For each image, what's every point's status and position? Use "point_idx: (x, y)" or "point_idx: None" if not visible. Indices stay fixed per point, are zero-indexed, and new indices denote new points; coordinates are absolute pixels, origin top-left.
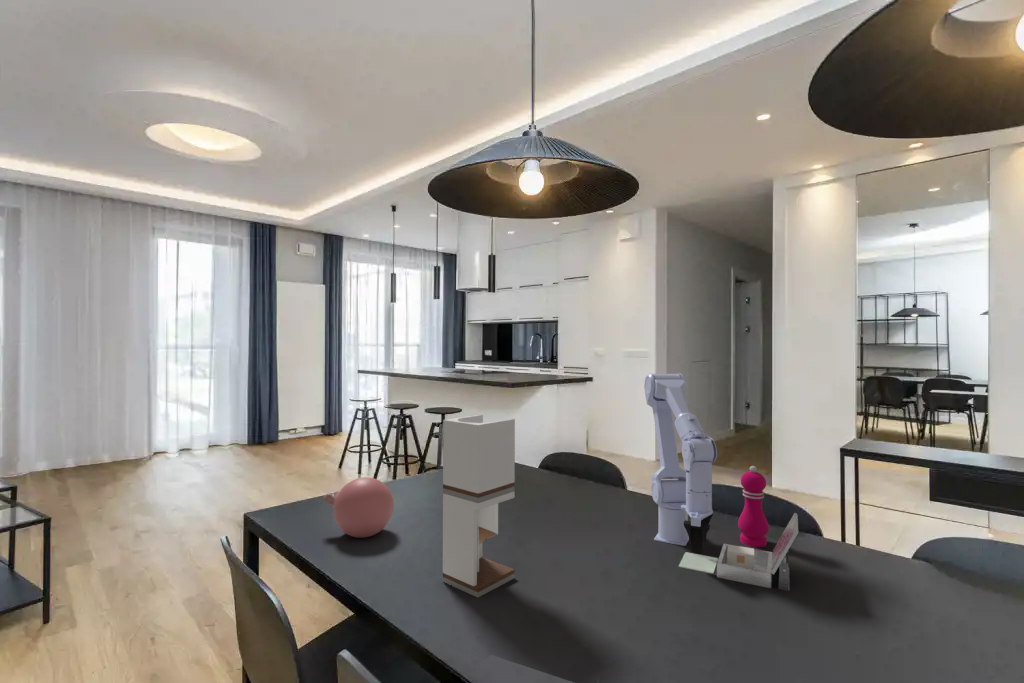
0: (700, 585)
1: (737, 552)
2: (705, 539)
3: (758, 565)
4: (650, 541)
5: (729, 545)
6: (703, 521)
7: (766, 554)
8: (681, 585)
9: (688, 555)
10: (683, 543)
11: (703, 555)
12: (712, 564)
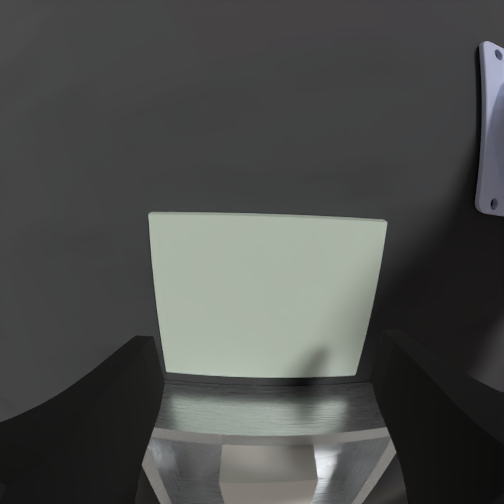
0: (47, 322)
1: (226, 501)
2: (376, 398)
3: (329, 465)
4: (461, 22)
5: (306, 483)
6: (427, 493)
7: (348, 500)
8: (6, 256)
9: (340, 245)
10: (487, 200)
11: (368, 317)
12: (265, 365)
